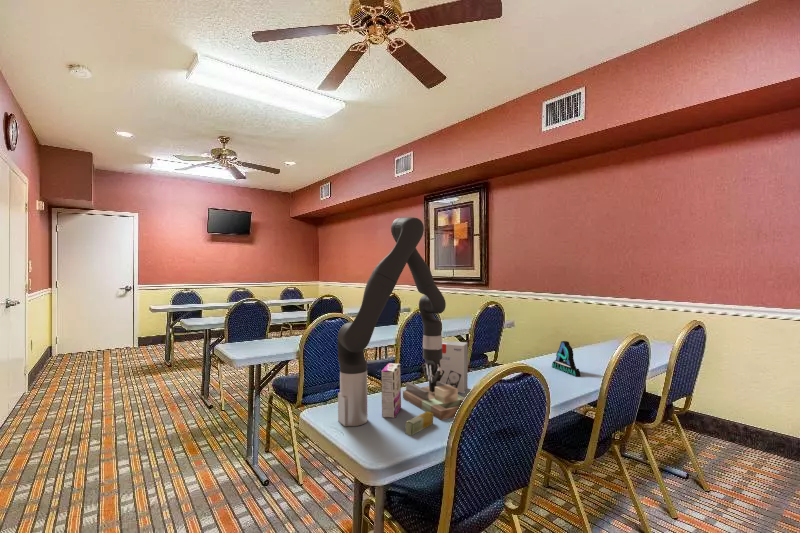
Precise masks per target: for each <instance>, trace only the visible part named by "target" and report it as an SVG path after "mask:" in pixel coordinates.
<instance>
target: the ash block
mask: <svg viewBox="0 0 800 533" xmlns="http://www.w3.org/2000/svg"><path fill="white" fill-rule="evenodd" d="M458 393H459V392H458V389H457V388H455V387H452V386H450V385H443V386H438V387H435V399H436V400H438V401H440V402H442V403H444V404H446V403H451V402H455V401H458V395H459V394H458Z"/></svg>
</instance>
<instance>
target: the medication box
mask: <svg viewBox="0 0 800 533" xmlns="http://www.w3.org/2000/svg"><path fill="white" fill-rule="evenodd" d="M433 424H434V416H433V413H431V412H428V411H427V412H426V411H424V412H423V413H421V414H419V415H417V416H415V417H412V418H410V419H408V420H406V421H405V427H404V428H405V431H404V432H405V435H408V436H413V435H415V434H417V433H418V432H420V431H422V430H424V429H426V428H428V427H431V425H433Z"/></svg>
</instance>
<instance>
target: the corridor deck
mask: <svg viewBox="0 0 800 533" xmlns="http://www.w3.org/2000/svg"><path fill="white" fill-rule="evenodd" d="M443 385H448V384H446V383H443V382H441V381H438V382H436V387H438V386H443ZM452 387H453V386H452ZM403 398H404V399H403ZM464 398H466V397H464V396H462V395H460V394H458V401H455V402H451V403H446V404H444V403H442V402H440V401H438V400H436V399H435V392H431V391H430V390H429V385H428V386H422V387H419V386H418V385H416V384H414V383H412V382H409V381H407V382H405V390H402V399H403V400H405V401H406V402H408V401H409V402H408V403H410V404H412V405H414V406H416V407H417V408H419V409H420V410H422V411H424V412H427V411H428V412H431V413H433V418H434V417H435V418H436V419H438V420H440V421H443V420H447V419H451V418H455V417H454V416H455V414H456V412H457V410H458V409H459V407H460V405H461V403H462V402H463V400H464Z"/></svg>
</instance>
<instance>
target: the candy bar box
mask: <svg viewBox="0 0 800 533" xmlns="http://www.w3.org/2000/svg"><path fill="white" fill-rule="evenodd" d="M380 374H381V375H380V376H381V379H380V380H381V382H380V383H381V385H380V386H381V387H380V388H381V418H388V419H389V418H392V419H396V417H397V415H398V413H399V412H400V409H401V408H402V395H401V394H402V390H401V388H402V387H401V363H395V362H394V363H392V362H389V363H387V364H386V366H384V368H383V369H382V370H381V372H380Z"/></svg>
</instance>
